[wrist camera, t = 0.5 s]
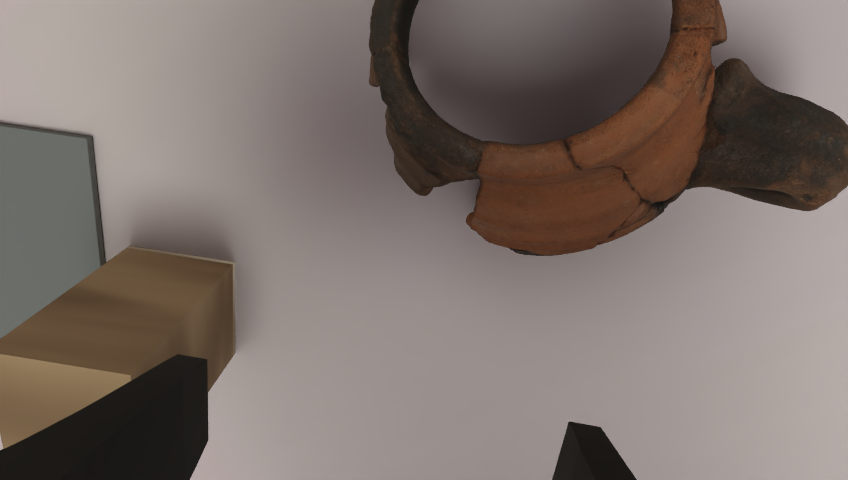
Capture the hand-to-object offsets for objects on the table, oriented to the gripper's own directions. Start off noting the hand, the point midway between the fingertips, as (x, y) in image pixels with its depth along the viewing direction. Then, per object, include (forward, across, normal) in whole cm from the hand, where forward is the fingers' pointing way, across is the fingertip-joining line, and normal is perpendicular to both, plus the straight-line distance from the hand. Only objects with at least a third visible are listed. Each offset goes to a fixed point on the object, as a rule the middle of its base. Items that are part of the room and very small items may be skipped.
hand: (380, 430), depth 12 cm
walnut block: (+10, +9, +4) cm, 14 cm away
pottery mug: (+10, -4, -6) cm, 12 cm away
